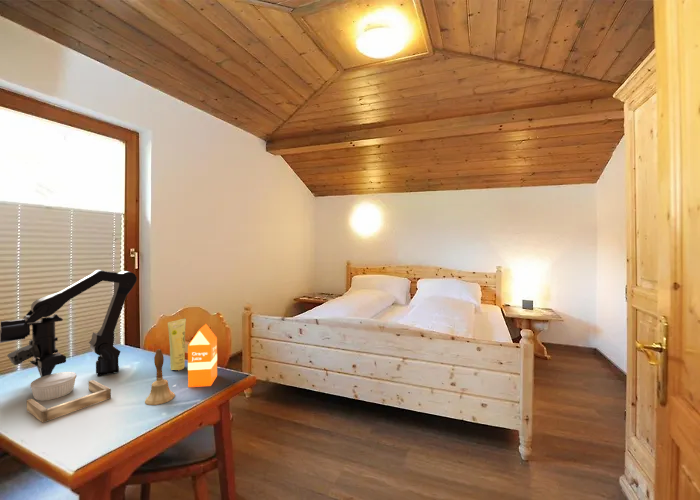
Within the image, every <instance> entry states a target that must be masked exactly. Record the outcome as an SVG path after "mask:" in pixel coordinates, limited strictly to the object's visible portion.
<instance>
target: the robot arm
mask: <svg viewBox="0 0 700 500" xmlns="http://www.w3.org/2000/svg"><path fill="white" fill-rule="evenodd" d="M137 280H138V278H137V275H136V274H135V273H133V272H132V271H127V270H122V271H119V272H113V271H107V270H106V271H105V270H101V269H96V270H95V271H93V272H92V273H90V274H89V275H87V276H85V277H83V278H81V279H79V280H78V281H76V282H74V283H73V284H71V285H69V286H67V287H66V288H64V289H62V290H60V291H58V292H55V293H51V294H48V295H46V296H43V297H41V298H37V299H36V300H34V301H33V302H32V304H31V306H30V309H29V311H28V312H27V313H26V314H25V315H24V316H23V317H22V318H21V319H20V318H19V319H18V318H17V319H13V320H1V321H0V344H3V343H9V342H14V341H20V340H21V341H22V340H25V339H26V338H28V336H30V335H31V334H32V335H31V336H32V337H31V338H32V339H30V340H29V341H28V345H26V346H23V347H21V348H17V349H16V350H14V351H12V352H10V353H8V354H7V357H8V359H9V361H10V363H11V364H13V365H14V366H17V365H20V364H22V363H23V362H25V361H27V360H29V359H31V358H32V360H30V361H29V363H30V364H32V365H33V366H35V367H36V368H37V370H38V374H39V376H40V377H43V376H46V375H50V374H53V372H54V369H55V367H56V366H57V365H61V364H65V363H67V356H65V355H64V354H62V353H59V351H58V350H59V349H58V348H56V347H57V346H56V343H57V341H58V340H59V339H58V337H57V336H56V322H57V323H58V322H62V321H63V320H64V319H63V318H62V317H61V316H59V315H58V313H57V314H56V312H57V311H59V310H60V309H61V308H62V307H63V306H64V305H65V304H66V303H67V302H69V301H70V300H73V298H76V297H77V296H79V295H80V294H83V293H84V292H85V291H87V290H89V289H90V288H92V287H94V286H96V285H98V284H100V283H101V282H109V283H110V282H111V283H113V295H112V297H111V298H110V299H111V300H110V303H109V306H108V307H107V311H106V312H105V313H106V314H105V316H104V319H103V322H102V325H101V327H100V329H99V330H98V332H92V335H91V339H90V340H89V342H88V344H89V347H90V350H91V351H93V353H94V354H95V355H97V360H96V361H95V374H96V375H97V377H100V376H105V375H110V374H111V375H112V374H115V373H116V374H117V373H119V372H120V366H119V357H120V353H121V350H120V349H118V348H117V347H115V346H114V345H115V330H116V326H117V324H118V321H119V318H120V315H121V312H122V310H123V307H124V305H125V302H126V299H127V297H128V295H129V293H130V292H131V291H132V289H134V288H133V287H135V284H136V283H137ZM31 332H32V333H31Z"/></svg>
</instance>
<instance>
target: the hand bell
mask: <svg viewBox="0 0 700 500" xmlns="http://www.w3.org/2000/svg"><path fill="white" fill-rule="evenodd" d="M164 358H165V357H164V354H163V351H162V349H160V348H158V349H156V350H155V354H154V366H155V370H156V374H155V375H156V376H155V377H156V380H155V381H153V382H152V383H151V385H150V386H151V387H150V388H151V389H150V392H149V395H148V396H147V397H146V398H145V400H144V404H145V405H148V406H157V405H163V404H165V403H167V402H170V401H172V400H173V399H174V398H175V397H176V395H175V393H174V392H173V391H172V390H171V389H170V387H169V382H168V380H167V379H164V377H163V376H164V375H163V365H164V362H165V360H164Z"/></svg>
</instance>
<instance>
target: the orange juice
mask: <svg viewBox="0 0 700 500" xmlns="http://www.w3.org/2000/svg"><path fill="white" fill-rule="evenodd" d="M217 377H218V337H217V335H216V334H214V332H213V331H212V329H211V328H210V327H209V325H208V324H207V323H205V324H204V325H202V327H200V328H199V329H198V331H197V332H196V334H195V335H194V336H193V338H192V339H191V340H190V342H189V343H188V345H187V380H188V381H187V382H188V383H187V387H188V388H196V387H197V388H198V387H211V386H212V385H213V383H214V381H215V380H216V378H217Z"/></svg>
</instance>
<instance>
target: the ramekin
mask: <svg viewBox="0 0 700 500" xmlns="http://www.w3.org/2000/svg"><path fill="white" fill-rule="evenodd" d="M76 378H77V373H76V372H73V371H62V372H56V373H51V374H50V375H46V376H43V377H41V376H40V377H38V378H36V379H34V380H33V381H31V382H30V383H29V384H30V389H31V391H32V395H33V399H34V400H36V401H50V400H55V399H59V398H61V397H64V396H67V395H69V394H71V393H72V391H73V390H74V388H75V383H76Z"/></svg>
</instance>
